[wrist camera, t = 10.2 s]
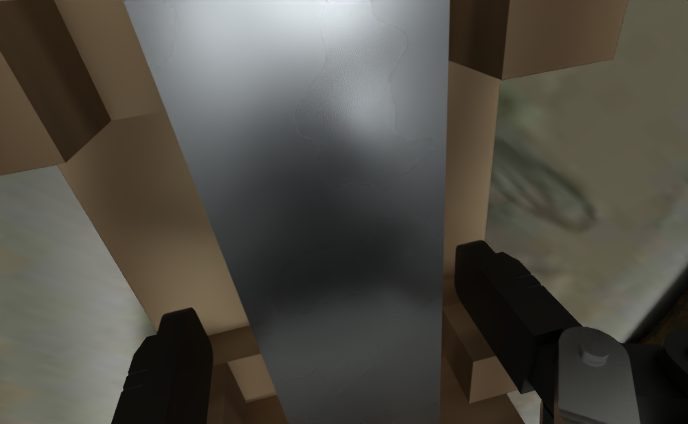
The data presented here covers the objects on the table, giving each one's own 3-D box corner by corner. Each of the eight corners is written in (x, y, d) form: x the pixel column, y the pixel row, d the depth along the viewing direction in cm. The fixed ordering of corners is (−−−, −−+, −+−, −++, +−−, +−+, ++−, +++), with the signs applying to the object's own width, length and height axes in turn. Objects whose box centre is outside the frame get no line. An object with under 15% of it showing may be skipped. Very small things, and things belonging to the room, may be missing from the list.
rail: (347, -46, 10) (452, -83, 4) (388, 362, 19) (437, 500, 14) (189, -23, 9) (109, -36, 4) (310, 382, 18) (331, 533, 13)
